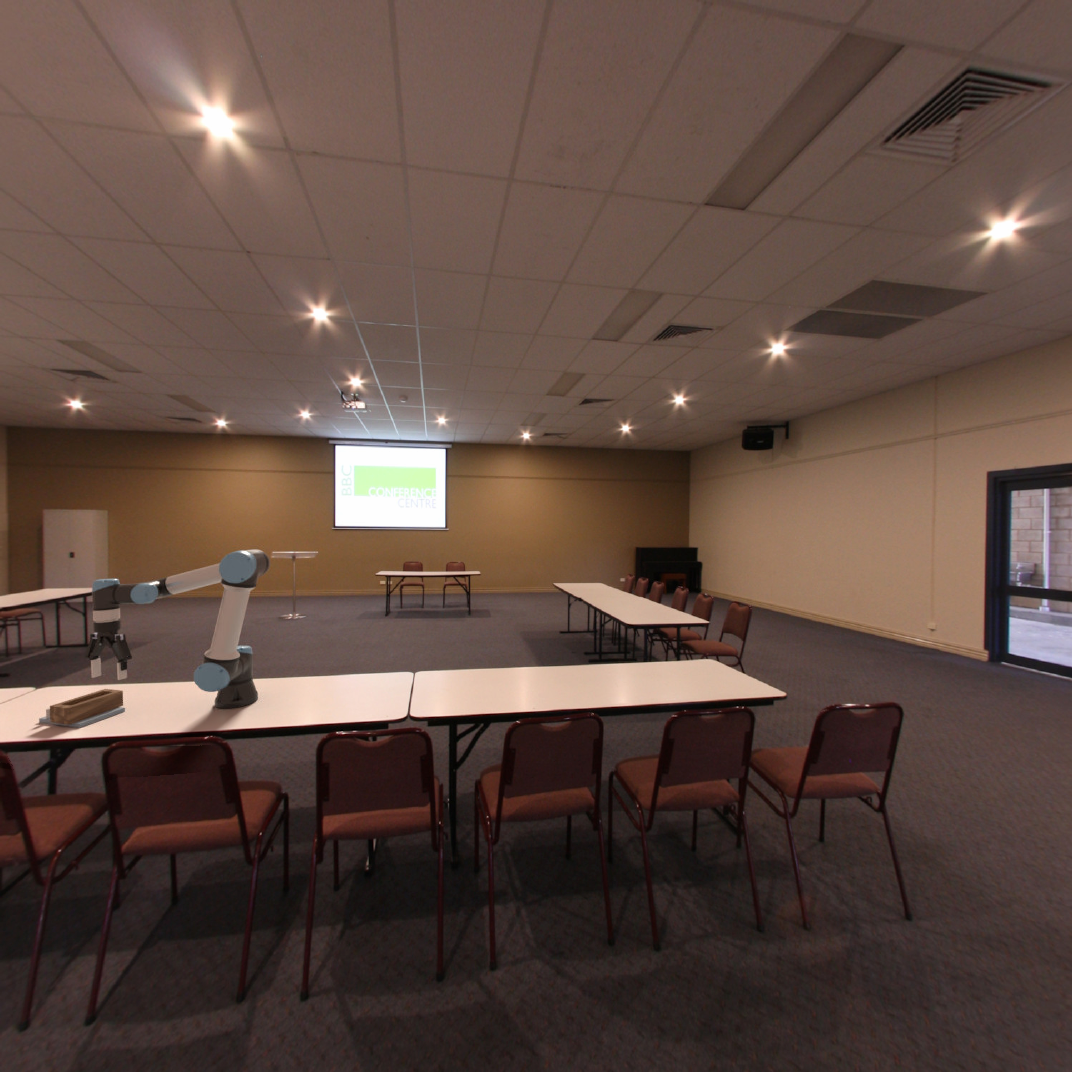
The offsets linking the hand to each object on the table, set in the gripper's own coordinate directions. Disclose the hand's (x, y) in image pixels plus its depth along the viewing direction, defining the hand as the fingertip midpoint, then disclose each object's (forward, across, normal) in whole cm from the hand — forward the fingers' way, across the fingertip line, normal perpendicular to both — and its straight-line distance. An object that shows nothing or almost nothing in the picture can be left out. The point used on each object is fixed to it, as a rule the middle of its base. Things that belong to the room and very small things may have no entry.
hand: (109, 677), depth 175 cm
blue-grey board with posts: (+16, +13, 0) cm, 21 cm away
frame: (+14, +11, 0) cm, 18 cm away
